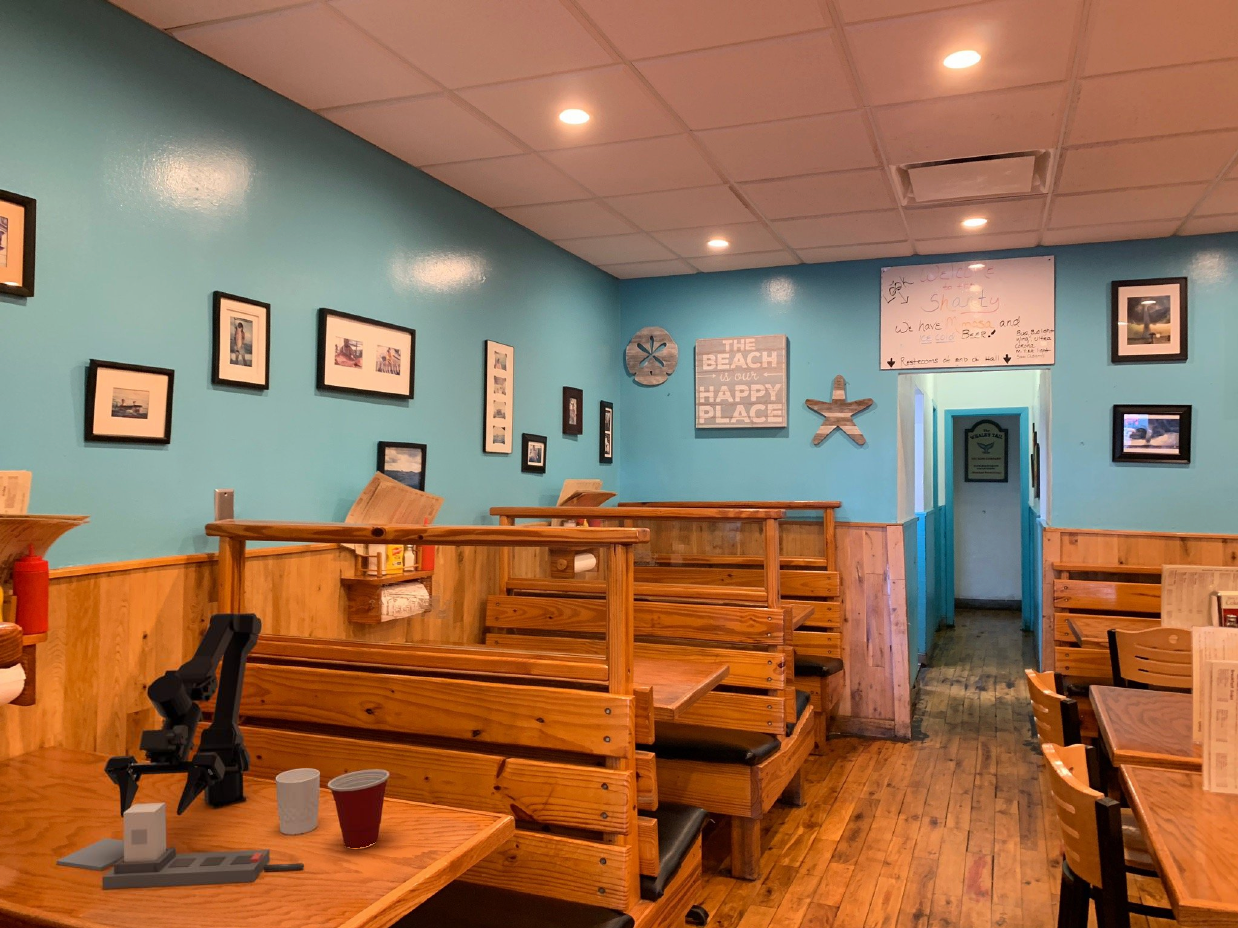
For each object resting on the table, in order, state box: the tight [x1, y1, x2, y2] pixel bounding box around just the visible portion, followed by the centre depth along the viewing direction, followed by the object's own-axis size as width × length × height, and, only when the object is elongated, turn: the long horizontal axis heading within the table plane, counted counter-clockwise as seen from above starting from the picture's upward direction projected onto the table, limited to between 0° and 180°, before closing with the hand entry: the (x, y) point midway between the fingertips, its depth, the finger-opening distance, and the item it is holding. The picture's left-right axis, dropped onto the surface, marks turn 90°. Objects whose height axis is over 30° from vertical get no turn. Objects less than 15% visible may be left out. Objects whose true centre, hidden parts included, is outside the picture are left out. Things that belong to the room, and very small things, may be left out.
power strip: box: [101, 846, 305, 890], centre depth 150 cm, size 31×8×4 cm, turn 93°
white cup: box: [275, 767, 321, 836], centre depth 169 cm, size 8×8×10 cm
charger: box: [123, 802, 167, 862], centre depth 150 cm, size 4×5×10 cm
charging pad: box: [55, 837, 124, 871], centre depth 159 cm, size 10×10×1 cm
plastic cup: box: [327, 768, 390, 848], centre depth 162 cm, size 11×11×12 cm
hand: (150, 815), depth 152 cm, fingers open, 9 cm apart
